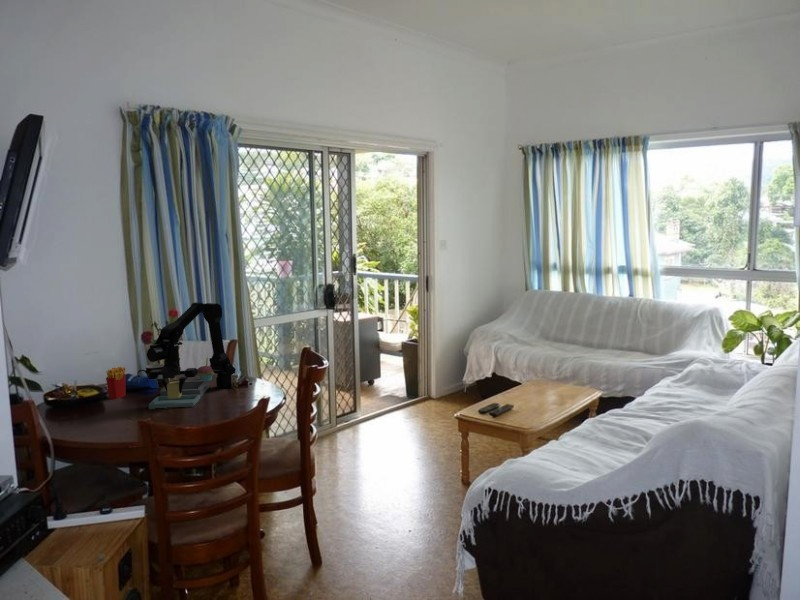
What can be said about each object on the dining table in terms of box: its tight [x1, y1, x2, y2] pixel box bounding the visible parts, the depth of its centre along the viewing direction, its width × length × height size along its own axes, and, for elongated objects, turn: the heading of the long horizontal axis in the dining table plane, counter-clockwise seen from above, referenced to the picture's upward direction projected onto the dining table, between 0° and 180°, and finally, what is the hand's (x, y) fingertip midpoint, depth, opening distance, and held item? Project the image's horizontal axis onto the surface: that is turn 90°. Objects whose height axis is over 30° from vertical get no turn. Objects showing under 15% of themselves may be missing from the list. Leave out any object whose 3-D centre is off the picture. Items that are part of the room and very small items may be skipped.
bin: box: [159, 379, 210, 398], centre depth 282 cm, size 17×17×4 cm
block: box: [167, 381, 182, 399], centre depth 265 cm, size 4×4×6 cm
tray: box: [148, 395, 201, 410], centre depth 265 cm, size 18×12×2 cm, turn 95°
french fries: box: [105, 366, 126, 400], centre depth 278 cm, size 9×4×13 cm, turn 155°
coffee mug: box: [137, 363, 164, 388], centre depth 294 cm, size 12×9×10 cm
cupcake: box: [196, 355, 214, 382], centre depth 304 cm, size 9×8×12 cm
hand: (174, 393), depth 265 cm, fingers closed on block, 4 cm apart
